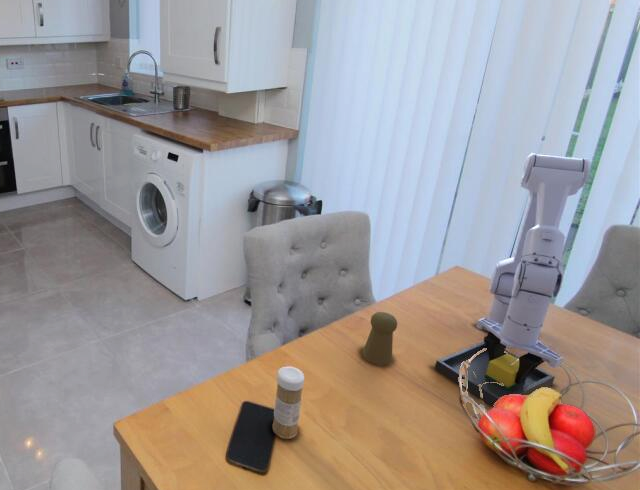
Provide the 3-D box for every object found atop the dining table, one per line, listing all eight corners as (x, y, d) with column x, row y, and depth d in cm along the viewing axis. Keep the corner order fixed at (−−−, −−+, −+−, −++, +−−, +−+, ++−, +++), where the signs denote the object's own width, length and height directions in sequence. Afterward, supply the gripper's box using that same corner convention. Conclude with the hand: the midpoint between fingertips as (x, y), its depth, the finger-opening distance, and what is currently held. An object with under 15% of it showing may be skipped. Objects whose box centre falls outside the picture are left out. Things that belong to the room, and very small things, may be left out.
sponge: (503, 368, 103) (507, 353, 101) (525, 381, 99) (531, 365, 98) (484, 376, 101) (489, 361, 99) (507, 390, 97) (512, 374, 96)
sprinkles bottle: (285, 418, 93) (291, 362, 88) (302, 434, 89) (310, 377, 84) (266, 426, 91) (272, 370, 86) (283, 444, 88) (290, 385, 82)
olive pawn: (385, 348, 111) (393, 308, 107) (396, 366, 106) (405, 324, 102) (358, 347, 112) (365, 307, 108) (367, 365, 106) (375, 323, 102)
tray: (484, 347, 111) (486, 339, 110) (551, 385, 99) (555, 376, 98) (434, 368, 105) (436, 360, 104) (500, 411, 93) (503, 402, 92)
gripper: (473, 305, 99) (458, 358, 104) (554, 345, 87) (533, 403, 92) (495, 297, 102) (480, 350, 107) (577, 335, 89) (555, 392, 94)
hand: (506, 374), depth 100 cm, fingers closed on sponge, 4 cm apart
